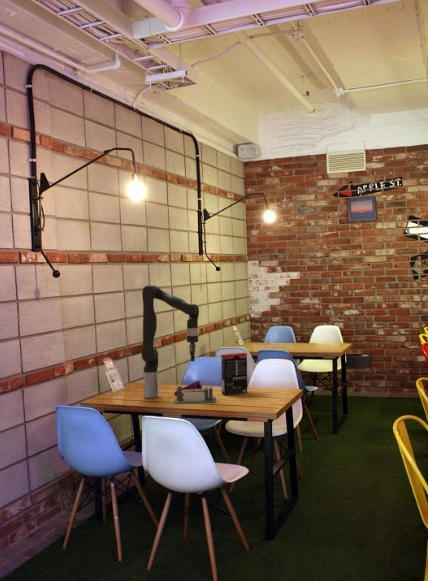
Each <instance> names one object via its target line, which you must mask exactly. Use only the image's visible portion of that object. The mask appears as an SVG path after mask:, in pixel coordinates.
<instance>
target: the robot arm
mask: <svg viewBox="0 0 428 581" xmlns="http://www.w3.org/2000/svg"><path fill="white" fill-rule="evenodd" d="M141 295H142V296H141V297H142V307H143V308H142V349H141V359H142V360H143V361H144V362H145V364H144V367H143V398H144V397H145V398H146V399H155V398H159V381H158V380H159V379H158V377H159V376H158V375H159V374H158V368H159V352H158V350H157V348H155V347H154V341H155V336H156V332H157V327H158V326H157V325H158V324H157V323H158V319H157V314H156V312H155V307H154V303H155V302H154V299H156V300H158V301H159V300H160V301H162V302H163V303H165V304H167V305H168V306H170V307H172V308H174V309H176V310H179V311H180V312H182V313H183V314H186V315H188V318H187V322H186V342H187V343H189V346H188V348H189V355H190V362H195V361H196V360H195V355H196V351H197V350H196V347H197V344H196V343H199V324H198V319H199V315H200V308H199V306H198V304H197V303H196V304H195V303H192V304H191V303H188V302H186V300H184V299H182V298H180V297H177V296H175V295H172V294H170V293H168V292H167V291H164V290H163V289H161V288H160V287H158V286H156V285H154V284H150V285H149V284H147V285H145V286H143V289H142V292H141ZM145 398H144V399H145Z"/></svg>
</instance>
